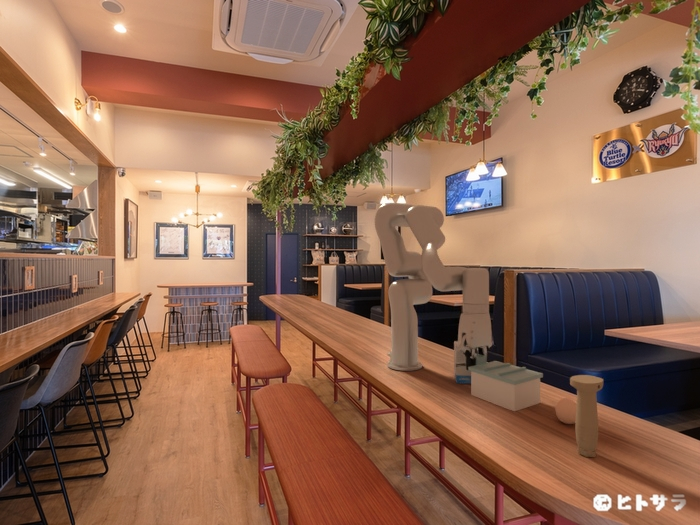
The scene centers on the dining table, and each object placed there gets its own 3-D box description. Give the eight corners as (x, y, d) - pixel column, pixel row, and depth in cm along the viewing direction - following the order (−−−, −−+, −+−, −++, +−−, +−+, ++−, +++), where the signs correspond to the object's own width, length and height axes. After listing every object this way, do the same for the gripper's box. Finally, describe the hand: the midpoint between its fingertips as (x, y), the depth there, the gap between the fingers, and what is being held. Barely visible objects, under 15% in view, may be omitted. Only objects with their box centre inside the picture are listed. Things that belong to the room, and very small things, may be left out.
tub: (471, 394, 110) (471, 370, 109) (496, 388, 115) (496, 364, 115) (514, 411, 98) (514, 384, 97) (540, 402, 103) (540, 377, 103)
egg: (550, 421, 92) (550, 396, 92) (565, 417, 94) (565, 393, 94) (570, 429, 87) (570, 403, 87) (585, 425, 89) (585, 400, 89)
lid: (455, 366, 114) (455, 356, 114) (482, 360, 120) (482, 350, 120) (514, 385, 97) (514, 373, 97) (542, 377, 103) (542, 366, 103)
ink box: (472, 384, 119) (472, 346, 119) (455, 383, 120) (455, 346, 120) (469, 376, 127) (469, 340, 127) (453, 375, 128) (453, 340, 128)
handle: (564, 452, 77) (564, 378, 77) (585, 445, 80) (585, 373, 80) (588, 463, 73) (588, 385, 72) (609, 456, 75) (609, 380, 75)
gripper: (484, 305, 122) (484, 363, 122) (446, 309, 114) (446, 371, 114) (504, 308, 116) (504, 368, 116) (466, 312, 107) (466, 377, 107)
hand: (475, 369), depth 115 cm, fingers closed on lid, 3 cm apart
